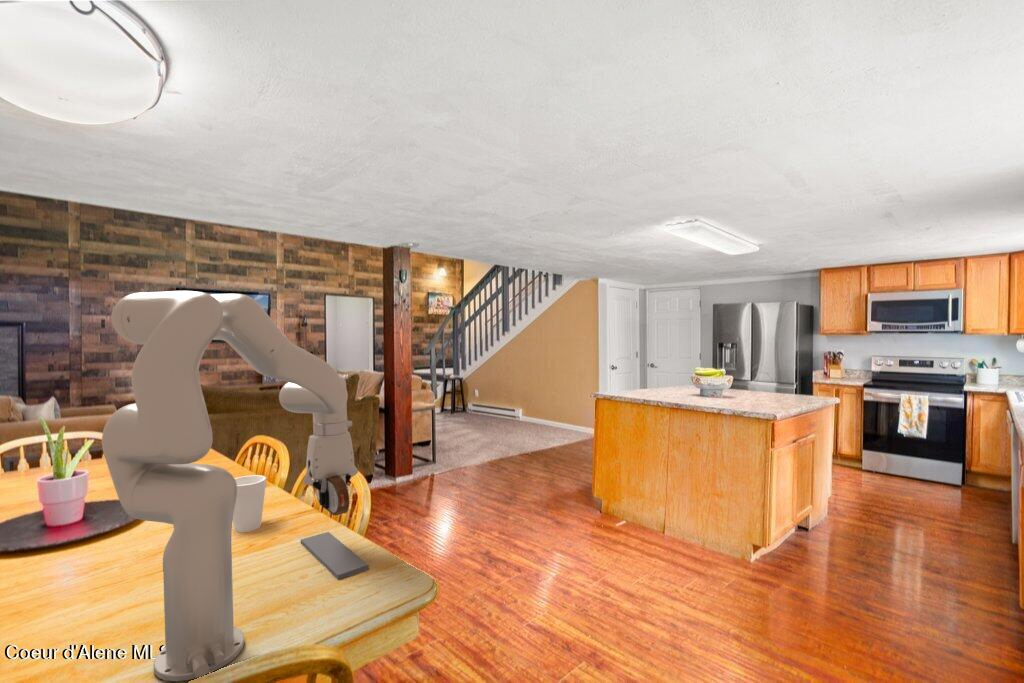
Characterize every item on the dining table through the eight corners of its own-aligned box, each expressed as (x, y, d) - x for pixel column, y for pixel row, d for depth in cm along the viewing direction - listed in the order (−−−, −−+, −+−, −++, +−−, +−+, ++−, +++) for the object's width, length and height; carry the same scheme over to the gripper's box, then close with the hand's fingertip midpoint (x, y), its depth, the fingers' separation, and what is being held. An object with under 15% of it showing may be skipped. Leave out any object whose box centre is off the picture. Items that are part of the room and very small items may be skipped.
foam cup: (274, 524, 136) (273, 477, 135) (243, 537, 127) (242, 487, 127) (251, 518, 140) (250, 473, 139) (219, 531, 131) (218, 483, 131)
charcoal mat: (368, 569, 110) (368, 564, 110) (337, 579, 105) (337, 575, 105) (328, 535, 128) (328, 531, 128) (300, 543, 123) (300, 539, 123)
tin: (350, 517, 112) (351, 480, 112) (336, 520, 110) (337, 483, 110) (326, 500, 123) (326, 466, 123) (313, 502, 121) (313, 468, 121)
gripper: (356, 421, 124) (358, 493, 125) (289, 431, 113) (291, 509, 114) (369, 426, 118) (371, 501, 119) (300, 436, 108) (302, 519, 108)
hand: (331, 504), depth 116 cm, fingers closed on tin, 2 cm apart
